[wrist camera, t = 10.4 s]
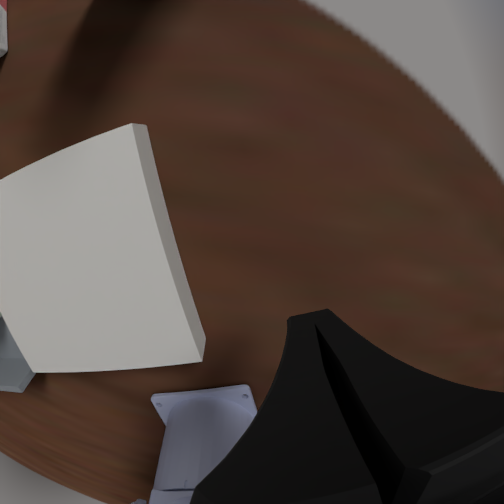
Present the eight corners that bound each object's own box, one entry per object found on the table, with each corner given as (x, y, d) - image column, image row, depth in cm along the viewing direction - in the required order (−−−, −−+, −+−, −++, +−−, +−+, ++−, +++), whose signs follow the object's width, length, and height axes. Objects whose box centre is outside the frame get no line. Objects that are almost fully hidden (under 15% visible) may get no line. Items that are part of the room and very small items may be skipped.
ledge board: (205, 338, 21) (202, 361, 18) (46, 354, 21) (33, 372, 19) (146, 125, 16) (131, 123, 14) (-18, 195, 17) (-39, 202, 14)
